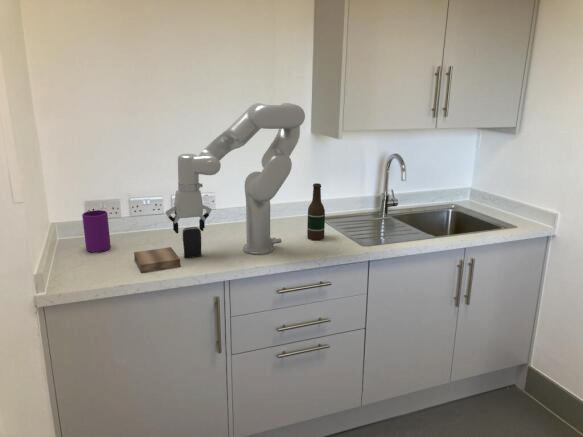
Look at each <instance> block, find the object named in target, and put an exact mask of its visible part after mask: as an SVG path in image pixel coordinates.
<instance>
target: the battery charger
mask: <svg viewBox="0 0 583 437" xmlns="http://www.w3.org/2000/svg"><path fill="white" fill-rule="evenodd" d="M181 232H182V235H181V236H182V244H183V257H184V258H186V259H187V258H197V257H201V256H203V254H202V231H201V230H200V229H199V227H198V226H197V227H196V226H193V227H192V226H191V227H185V228H183V230H182V231H181Z"/></svg>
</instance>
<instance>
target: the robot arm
mask: <svg viewBox="0 0 583 437" xmlns="http://www.w3.org/2000/svg"><path fill="white" fill-rule="evenodd" d="M305 118H306V113H305V111H304V109H303V108H302V107H301V106H300V105H298V104H296V103H295V104H294V103H291V102H283V103H281V104H276V105H275V104H264V103H259V102H258V103H254V104H252V105H251V106H249V107H248V108H247V109H246V110H245V111H244V112H243V113H242V114H241V115H240V116H239V117H238V118H237V119H236V120H235V121H234V122H233V123H232V124H231V125H230V126H229V127H228V128H227V129H226V130H224V131H222V133H221V134H220V135H219V136H217V137H216V138H214V139H213V140H212V141H211V142H210V143H209V144H208V145H207V146H205V148H204V149H203V150H202V151H200V152H199V154H198V155H197V154H194V153H181V154H179V155H178V156H177V177H178V178H177V188H178V189H177V190H175V194H174V196H175V197H174V206H173V207H171V208H169V209H167V210H166V211H165V214H166V216H167V219H169V221H171V222H172V227H173V228H172V229H173V231H174V232H175V233H176V234H179V223H178V222H179V221H180V219H189V218H200V219H199V220H198V221H199V222H198V223H199V225H198V226H199V227H198V228H199V229H200V231H201V232H204V229H205V228H206V220H207V219H208V217H209V216H210V215H211V214H210V213H211V211H212V208H211V207H208V206H207V205H204V203H203V197H202V192H201V190H200V188H203V183H200V179H199V178H200V175H201V176H202V175H203V176H214V175H216V174H218V173H219V172H220V171H221V168H222V166H221V165H222V164H221V160H222V159H224V157H226V156H227V155H228V154H229V153H230V152H232V151H234V150H236V149H239V148H242V147H243V146H245V145H246V144H247V143H248V142H249V141H251V139H252V138H253V137H254V136H255V135H256V134H257V133H258V132H260V130H261V129H265V130H277V134H276V135H275V137H274V140H273V141H272V142H271V144H269V146H268V148H267V149H266V151H265V153H263V155H262V158H261V167H262V170H261V171H253V172H252V171H251V173H249V174H248V175H247V176H246V178H245V180H244V194H245V196H244V197H245V209H246V210H245V211H246V212H245V215H246V216H245V222H246V223H245V224H246V226H245V227H246V231H245V232H246V243H245V244H243V246H242V251H243V252H244V253H246V254H251V255H266V254H270V253H272V252H273V251H274V250H275V246H274V245H275V244H282V241H283V240H282V238H276V237H271V200H272V199H274V197H275V196H276V195H277V194H278V192H279V190H280V189H281V188H282V185H283V184H284V183H285V181H286V180H287V178H288V177H289V175H290V173H291V170H292V169H293V168H292V166H293V163H292V159H291V155H292V154H293V152H294V150H295V148H296V146H297V145H298V143H299V140H300V136H301V134H300V133H301V126H302V125H303V124H304V122H305V120H306V119H305ZM204 210H205V212H204ZM172 213H174V216H172Z"/></svg>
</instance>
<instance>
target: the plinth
mask: <svg viewBox="0 0 583 437" xmlns="http://www.w3.org/2000/svg"><path fill="white" fill-rule="evenodd" d="M133 255H134V262H135V264H136V266H137V268H138V269H139V271H140V273H141V274H143V273H148V272H149V273H150V272H155V271H162V270H168V269H174V268H180V267H181V259H180V257H179V256H178V254H177V253H176V252H175V251H174V249H173V248H172V247H171V246H169V247H168V246H167V247H161V248H154V249H148V250H141V251H134V252H133Z"/></svg>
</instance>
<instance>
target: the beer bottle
mask: <svg viewBox="0 0 583 437" xmlns="http://www.w3.org/2000/svg"><path fill="white" fill-rule="evenodd" d="M312 187H313V188H312V189H313V190H312V199H311V202H310V204H309V205H308V207H307V225H306V227H307V229H306V230H307V231H306V232H307V233H306V235H307V240H310V241H314V242H315V241H317V242H318V241H322V240H324V239H325V226H326V224H325V222H326V221H325V220H326V210H325V207H324V204H323V203H322V194H321V193H322V191H321V190H322V189H321V188H322V184H321V183H318V182H317V183H313V184H312Z"/></svg>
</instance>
